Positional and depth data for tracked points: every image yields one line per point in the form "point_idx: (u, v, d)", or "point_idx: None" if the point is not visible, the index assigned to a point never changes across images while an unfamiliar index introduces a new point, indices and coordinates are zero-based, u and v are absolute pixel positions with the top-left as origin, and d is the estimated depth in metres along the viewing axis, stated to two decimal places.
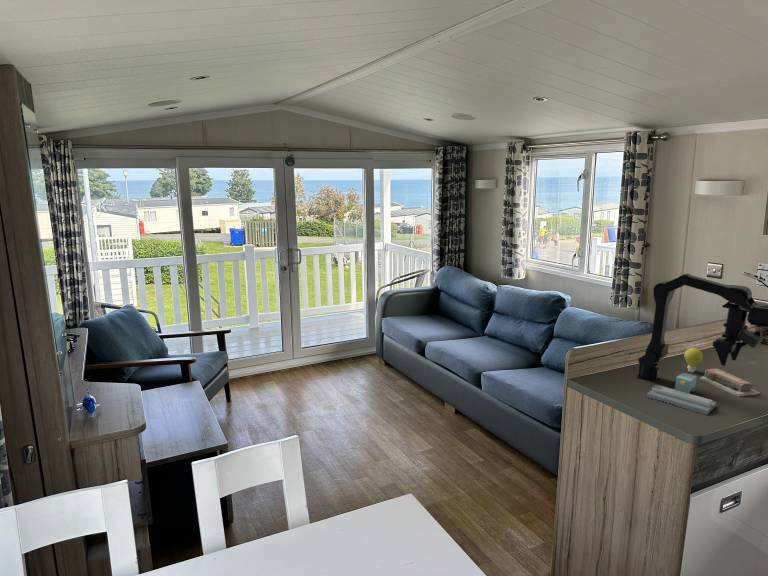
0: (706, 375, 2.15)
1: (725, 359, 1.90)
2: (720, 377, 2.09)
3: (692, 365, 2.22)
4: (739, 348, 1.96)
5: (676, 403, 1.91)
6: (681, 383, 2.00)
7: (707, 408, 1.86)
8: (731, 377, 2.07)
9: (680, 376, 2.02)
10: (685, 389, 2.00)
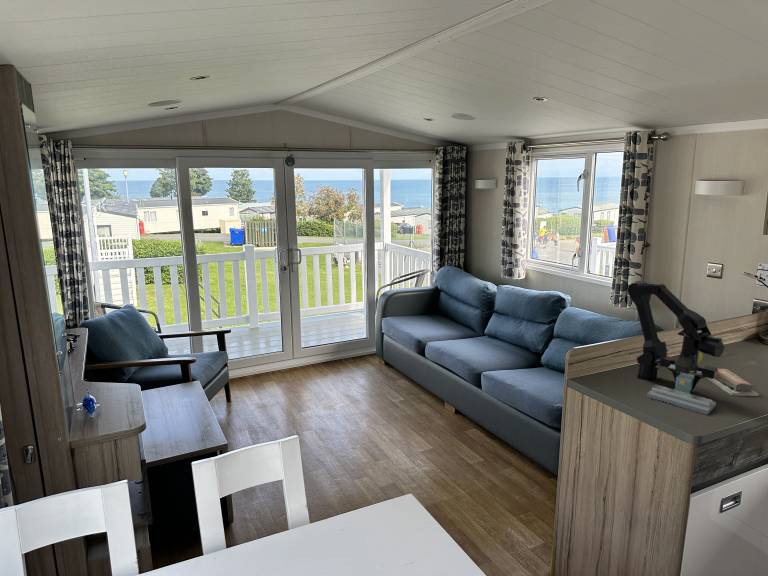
0: None
1: None
2: (722, 376, 2.10)
3: None
4: (694, 379, 1.99)
5: (676, 403, 1.91)
6: (681, 383, 2.00)
7: (707, 408, 1.86)
8: (732, 377, 2.07)
9: (680, 376, 2.02)
10: (685, 389, 2.00)
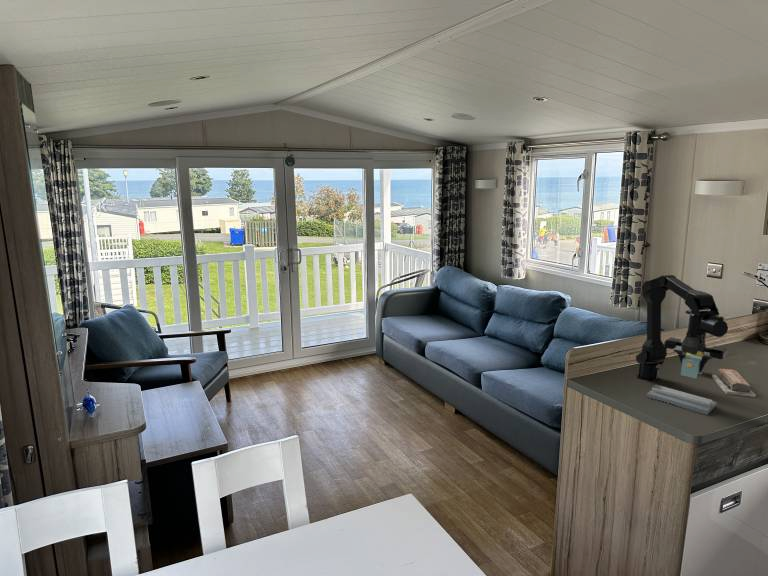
0: (718, 374, 2.16)
1: None
2: (724, 376, 2.10)
3: None
4: None
5: (676, 403, 1.91)
6: (688, 365, 1.88)
7: (707, 408, 1.86)
8: (733, 377, 2.07)
9: (686, 358, 1.91)
10: (692, 371, 1.89)
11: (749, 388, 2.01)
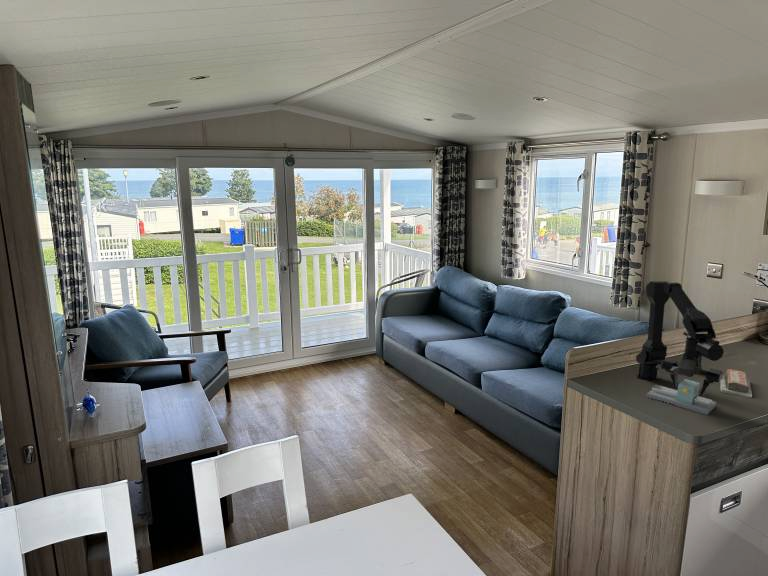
0: (726, 374, 2.16)
1: None
2: (727, 376, 2.10)
3: None
4: (703, 384, 1.87)
5: (676, 403, 1.91)
6: (683, 391, 1.89)
7: (707, 408, 1.86)
8: (735, 377, 2.07)
9: (682, 383, 1.92)
10: (688, 397, 1.89)
11: (746, 388, 2.01)
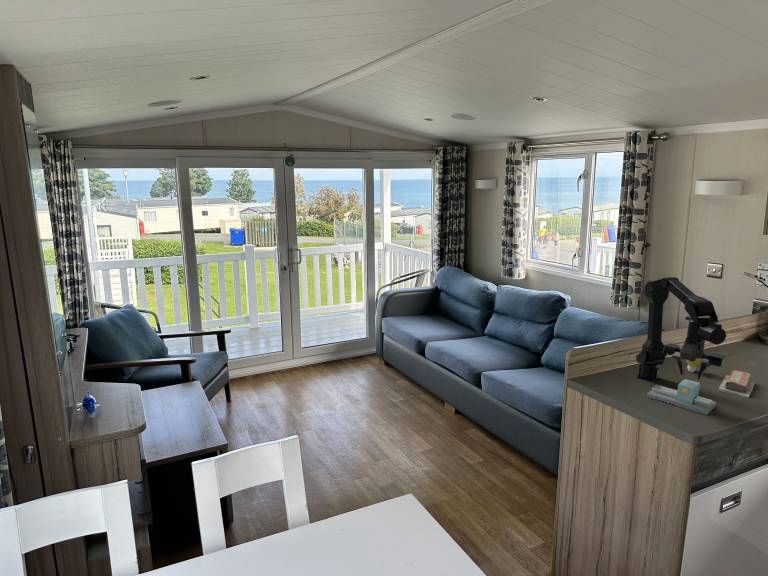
0: None
1: None
2: (729, 376, 2.10)
3: (692, 365, 2.22)
4: None
5: (676, 403, 1.91)
6: (683, 391, 1.89)
7: (707, 408, 1.86)
8: (736, 377, 2.07)
9: (682, 383, 1.92)
10: (688, 397, 1.89)
11: (744, 389, 2.00)
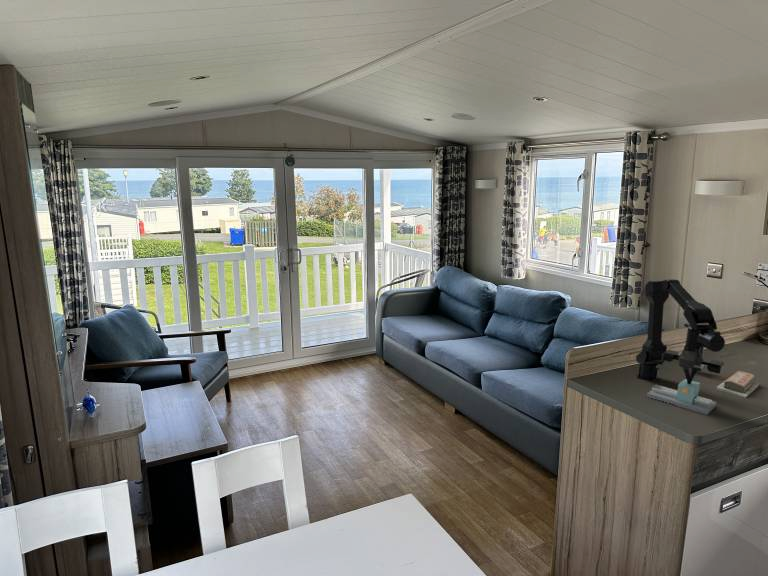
0: None
1: None
2: (731, 376, 2.10)
3: None
4: (691, 372, 1.90)
5: (676, 403, 1.91)
6: (683, 391, 1.89)
7: (707, 408, 1.86)
8: (736, 377, 2.06)
9: (682, 383, 1.92)
10: (688, 397, 1.89)
11: (742, 388, 2.00)
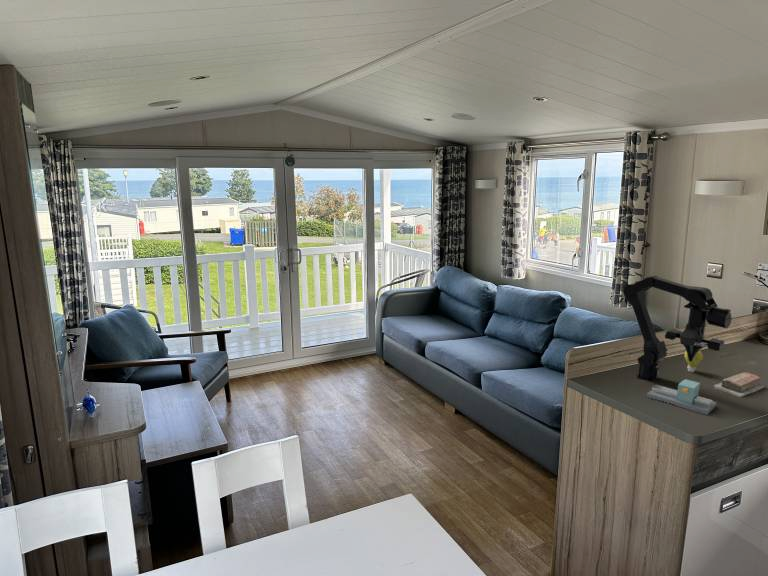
0: None
1: None
2: None
3: (692, 365, 2.22)
4: (692, 350, 2.00)
5: (676, 403, 1.91)
6: (683, 391, 1.89)
7: (707, 408, 1.86)
8: (737, 377, 2.06)
9: (682, 383, 1.92)
10: (688, 397, 1.89)
11: (739, 388, 2.01)
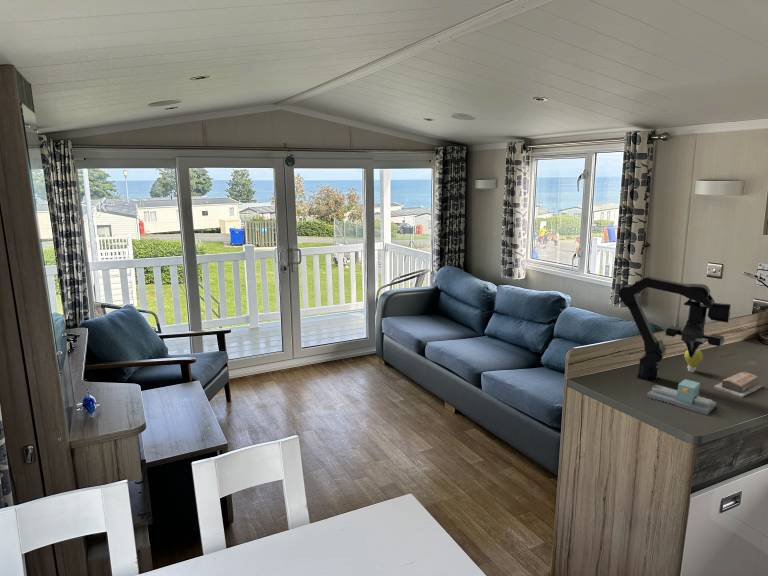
0: None
1: None
2: None
3: (692, 365, 2.22)
4: (693, 346, 2.04)
5: (676, 403, 1.91)
6: (683, 391, 1.89)
7: (707, 408, 1.86)
8: (736, 377, 2.06)
9: (682, 383, 1.92)
10: (688, 397, 1.89)
11: (739, 388, 2.01)
